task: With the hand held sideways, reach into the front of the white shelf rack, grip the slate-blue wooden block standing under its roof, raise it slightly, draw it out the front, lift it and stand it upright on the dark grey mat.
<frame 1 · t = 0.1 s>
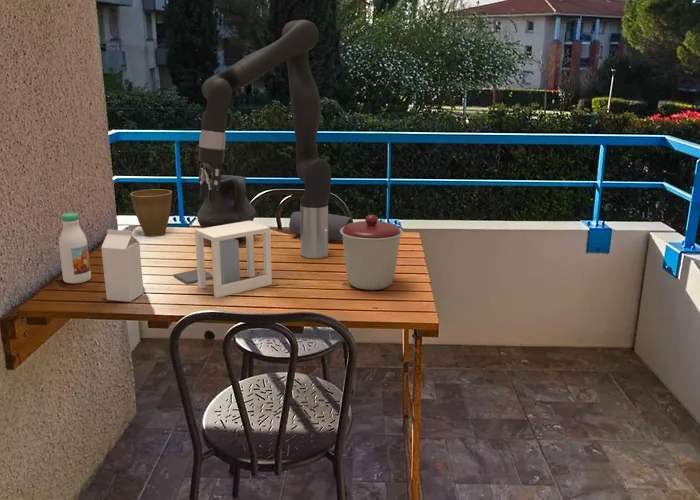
hand: (207, 200, 192), 22 cm above the table, tool pointing down, fingers open, 8 cm apart
milk bottle: (77, 280, 188), on the table
blank: (228, 282, 187), on the table
milk carton: (125, 297, 174), on the table
bluetooth speaker: (321, 240, 234), on the table
mat: (194, 277, 191), on the table
rack: (235, 285, 184), on the table
pitcher: (228, 242, 230), on the table
canister: (370, 285, 186), on the table
plant pot: (154, 234, 240), on the table
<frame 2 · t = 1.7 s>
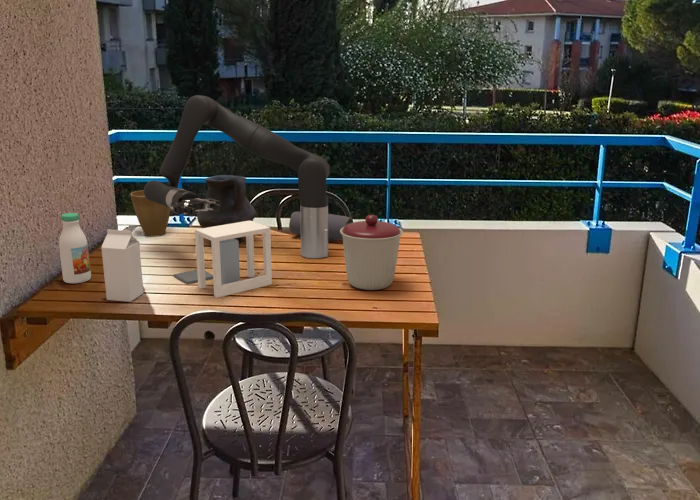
hand: (206, 210, 190), 20 cm above the table, tool horizontal, fingers open, 8 cm apart
nothing on the table moved.
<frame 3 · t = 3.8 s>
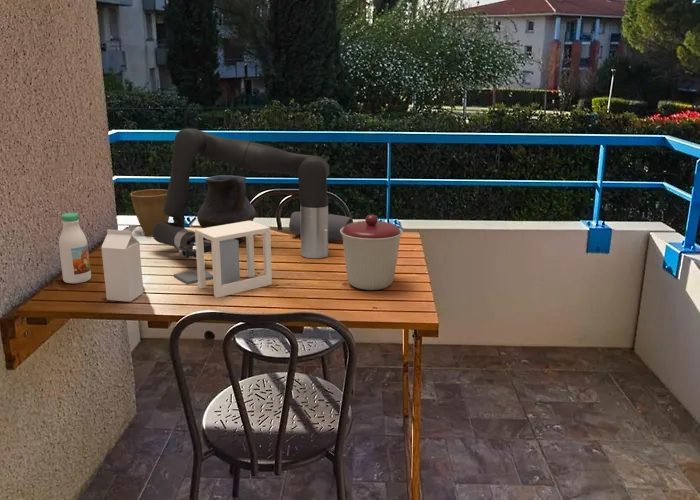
hand: (214, 253, 190), 7 cm above the table, tool horizontal, fingers open, 8 cm apart
nothing on the table moved.
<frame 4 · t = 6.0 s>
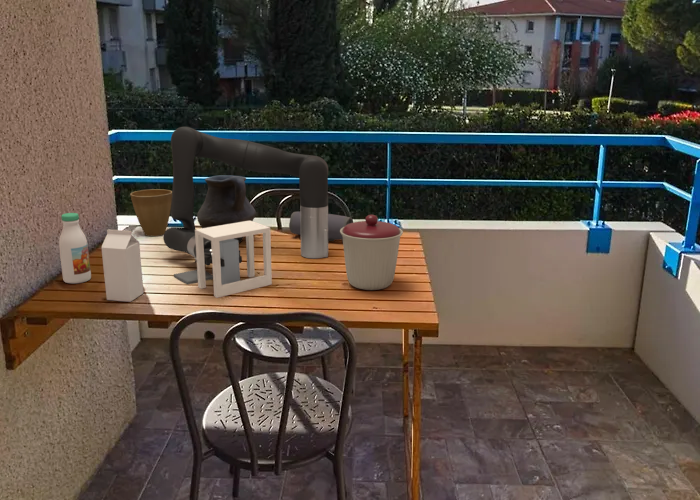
hand: (231, 261, 183), 7 cm above the table, tool horizontal, fingers closed on blank, 5 cm apart
blank: (228, 282, 187), on the table, touching gripper
everything else where it was.
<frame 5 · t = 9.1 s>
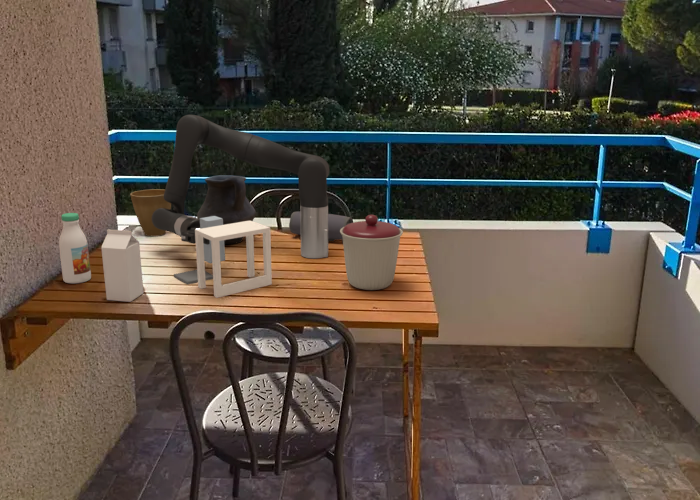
hand: (216, 239, 188), 12 cm above the table, tool horizontal, fingers closed on blank, 5 cm apart
blank: (214, 260, 192), point 5 cm above the table, touching gripper
everything else where it was.
when the fingers open (9 cm above the table, at t = 12.2 s): blank stays where it is, resting on mat.
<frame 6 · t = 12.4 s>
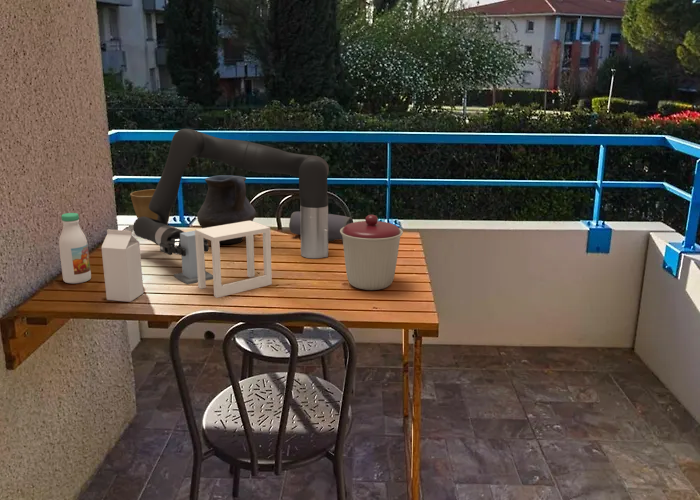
hand: (196, 250, 187), 9 cm above the table, tool horizontal, fingers open, 6 cm apart
blank: (194, 275, 191), point 1 cm above the table, touching mat
everything else where it was.
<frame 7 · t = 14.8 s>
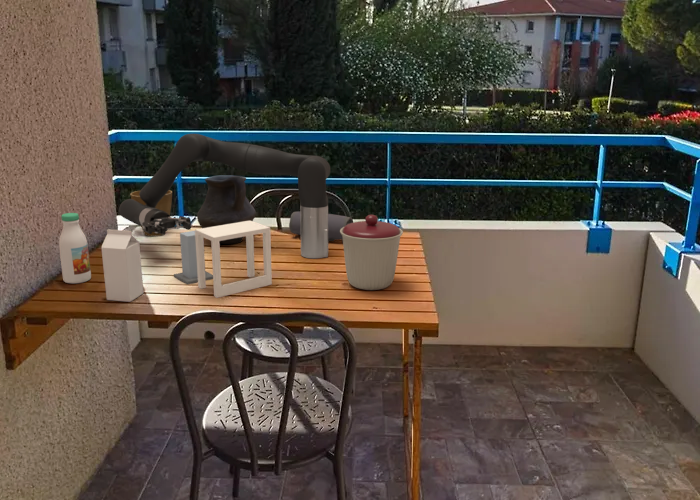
hand: (176, 228, 195), 13 cm above the table, tool horizontal, fingers open, 8 cm apart
nothing on the table moved.
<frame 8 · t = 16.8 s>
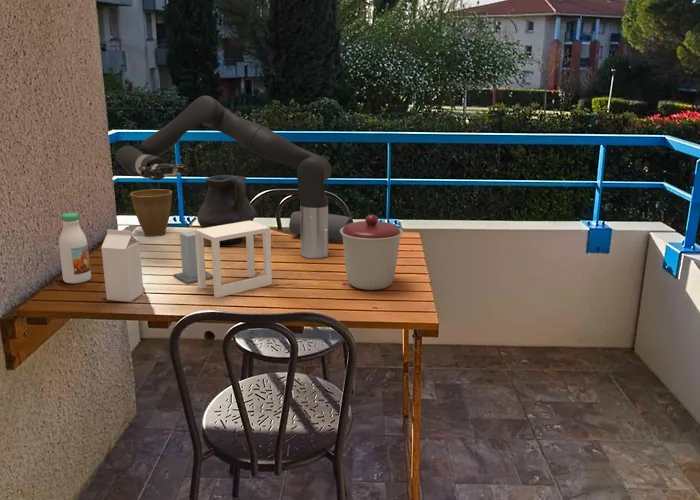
hand: (173, 173, 191), 30 cm above the table, tool horizontal, fingers open, 8 cm apart
nothing on the table moved.
at the end: blank inside the target area on the mat (0.0 cm from its centre), point 0.8 cm above the mat's base; blank tilted 0°; the gripper is holding nothing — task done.
